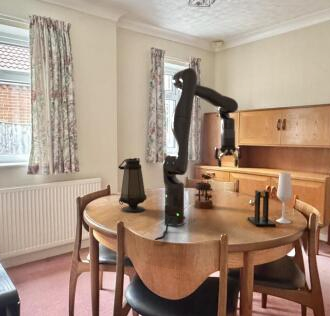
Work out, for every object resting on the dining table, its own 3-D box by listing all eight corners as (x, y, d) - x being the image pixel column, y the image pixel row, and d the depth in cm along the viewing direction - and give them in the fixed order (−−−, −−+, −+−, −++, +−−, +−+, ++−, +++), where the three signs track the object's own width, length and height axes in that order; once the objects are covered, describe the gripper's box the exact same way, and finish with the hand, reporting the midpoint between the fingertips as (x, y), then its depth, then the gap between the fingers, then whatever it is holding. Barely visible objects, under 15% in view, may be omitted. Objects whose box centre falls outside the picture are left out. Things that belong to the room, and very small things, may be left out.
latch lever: (248, 206, 156) (248, 201, 158) (255, 206, 156) (254, 200, 157) (260, 196, 141) (258, 190, 142) (266, 196, 141) (265, 190, 142)
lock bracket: (247, 219, 150) (248, 188, 149) (265, 219, 150) (266, 188, 148) (256, 226, 138) (257, 193, 137) (275, 226, 138) (276, 193, 137)
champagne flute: (272, 220, 148) (274, 172, 146) (283, 218, 150) (284, 172, 148) (283, 224, 142) (285, 174, 140) (294, 222, 144) (296, 173, 142)
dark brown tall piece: (204, 203, 186) (206, 171, 183) (217, 207, 177) (220, 175, 174) (186, 206, 178) (188, 173, 175) (199, 211, 169) (202, 177, 166)
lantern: (128, 215, 159) (127, 159, 157) (112, 209, 171) (111, 158, 169) (153, 209, 171) (153, 157, 168) (137, 204, 183) (137, 156, 180)
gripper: (216, 137, 157) (216, 167, 159) (243, 137, 157) (243, 167, 158) (213, 137, 165) (213, 166, 166) (239, 136, 164) (238, 165, 166)
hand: (227, 166), depth 162 cm, fingers open, 8 cm apart
